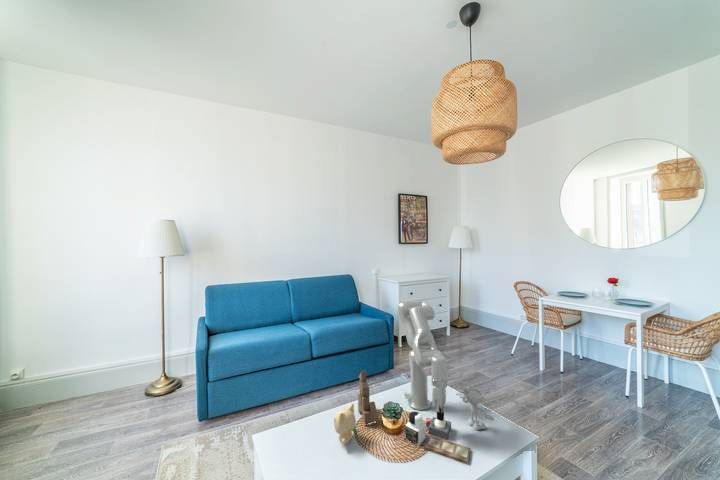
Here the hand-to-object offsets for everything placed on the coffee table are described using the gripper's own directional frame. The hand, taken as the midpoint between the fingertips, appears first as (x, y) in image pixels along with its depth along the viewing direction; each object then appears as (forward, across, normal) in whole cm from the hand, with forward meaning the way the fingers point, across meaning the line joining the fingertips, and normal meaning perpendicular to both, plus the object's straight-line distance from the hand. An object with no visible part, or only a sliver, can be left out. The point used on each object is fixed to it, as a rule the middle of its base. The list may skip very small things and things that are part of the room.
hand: (440, 419), depth 138 cm
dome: (+5, 0, 0) cm, 5 cm away
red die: (+6, -2, -6) cm, 9 cm away
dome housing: (+6, 0, 0) cm, 6 cm away
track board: (+7, +10, +6) cm, 14 cm away
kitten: (+6, +26, -40) cm, 47 cm away
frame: (+6, +10, -10) cm, 16 cm away
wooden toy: (+6, +6, -38) cm, 39 cm away
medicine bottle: (+7, +10, -10) cm, 16 cm away
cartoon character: (+7, -12, +14) cm, 19 cm away
